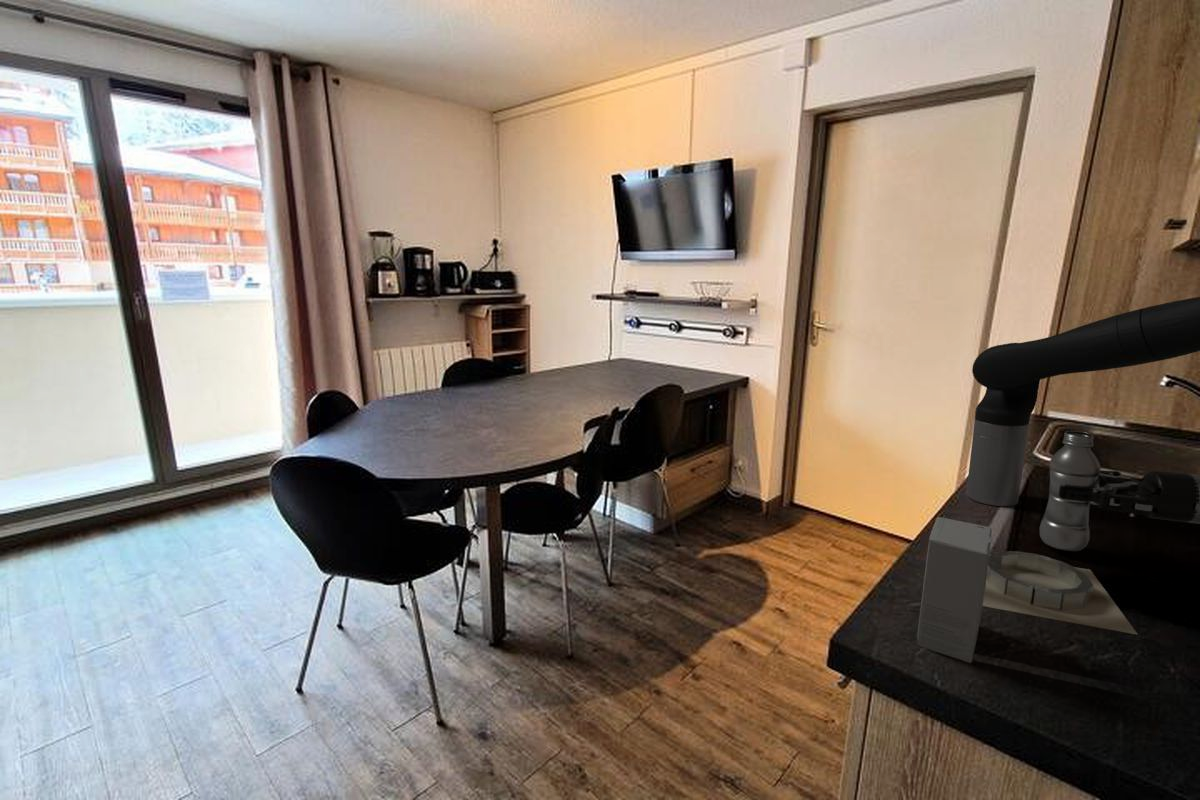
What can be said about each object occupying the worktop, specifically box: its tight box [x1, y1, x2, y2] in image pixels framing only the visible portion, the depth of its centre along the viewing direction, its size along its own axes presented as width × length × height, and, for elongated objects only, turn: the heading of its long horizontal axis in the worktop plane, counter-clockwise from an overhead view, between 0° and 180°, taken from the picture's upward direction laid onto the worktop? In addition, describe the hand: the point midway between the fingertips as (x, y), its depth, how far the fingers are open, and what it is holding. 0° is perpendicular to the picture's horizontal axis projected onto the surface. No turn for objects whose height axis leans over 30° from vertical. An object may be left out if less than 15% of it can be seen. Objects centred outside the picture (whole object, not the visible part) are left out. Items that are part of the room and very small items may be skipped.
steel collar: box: [987, 550, 1093, 610], centre depth 84 cm, size 12×12×2 cm
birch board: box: [982, 553, 1139, 636], centre depth 84 cm, size 18×18×1 cm
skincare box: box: [915, 516, 993, 664], centre depth 72 cm, size 8×7×16 cm
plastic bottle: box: [1039, 430, 1101, 552], centre depth 92 cm, size 6×7×20 cm
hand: (1054, 484), depth 93 cm, fingers closed on plastic bottle, 6 cm apart
